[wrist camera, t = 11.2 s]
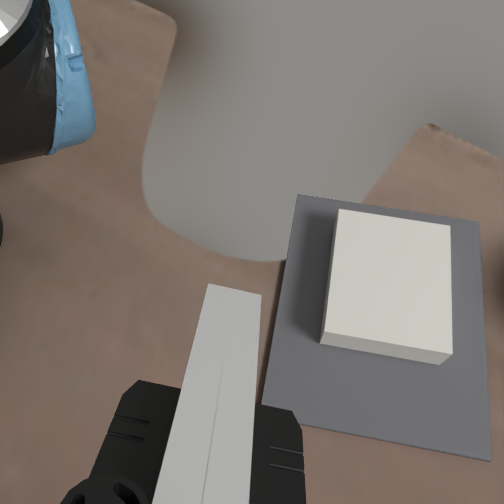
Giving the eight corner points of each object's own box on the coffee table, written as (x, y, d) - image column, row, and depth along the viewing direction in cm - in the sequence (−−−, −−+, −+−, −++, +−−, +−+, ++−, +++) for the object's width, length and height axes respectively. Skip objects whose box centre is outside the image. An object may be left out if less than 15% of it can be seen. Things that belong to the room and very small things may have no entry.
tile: (452, 354, 37) (450, 225, 43) (324, 331, 38) (338, 208, 44) (438, 366, 40) (437, 244, 46) (319, 344, 41) (333, 227, 46)
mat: (489, 461, 37) (492, 461, 36) (259, 416, 38) (259, 415, 38) (477, 224, 47) (479, 221, 47) (297, 197, 49) (297, 194, 48)
